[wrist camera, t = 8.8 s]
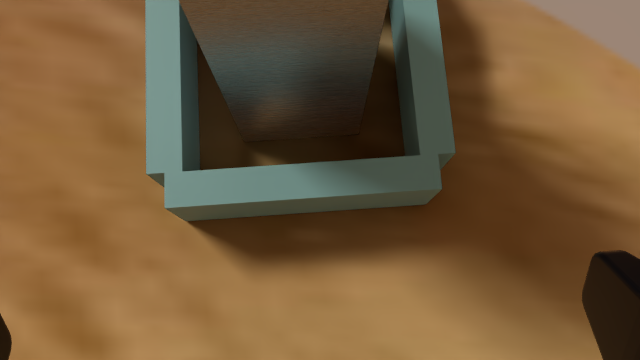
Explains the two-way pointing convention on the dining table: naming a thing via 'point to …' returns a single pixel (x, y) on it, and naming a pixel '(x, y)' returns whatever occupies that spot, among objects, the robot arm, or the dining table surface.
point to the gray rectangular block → (290, 62)
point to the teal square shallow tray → (304, 178)
